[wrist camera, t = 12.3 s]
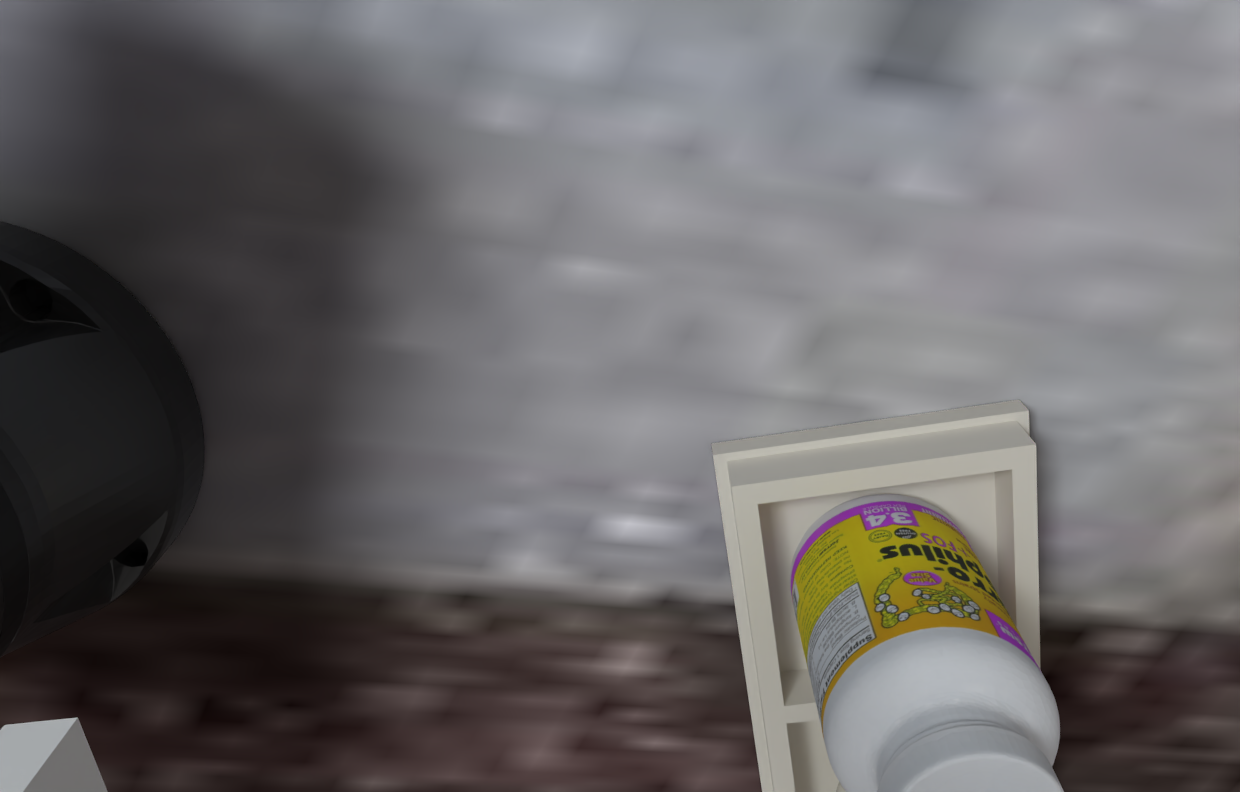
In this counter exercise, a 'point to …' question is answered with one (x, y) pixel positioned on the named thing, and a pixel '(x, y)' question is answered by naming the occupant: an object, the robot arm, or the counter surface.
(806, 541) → the supplement bottle
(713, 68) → the counter surface
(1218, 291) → the counter surface
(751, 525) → the carrier
